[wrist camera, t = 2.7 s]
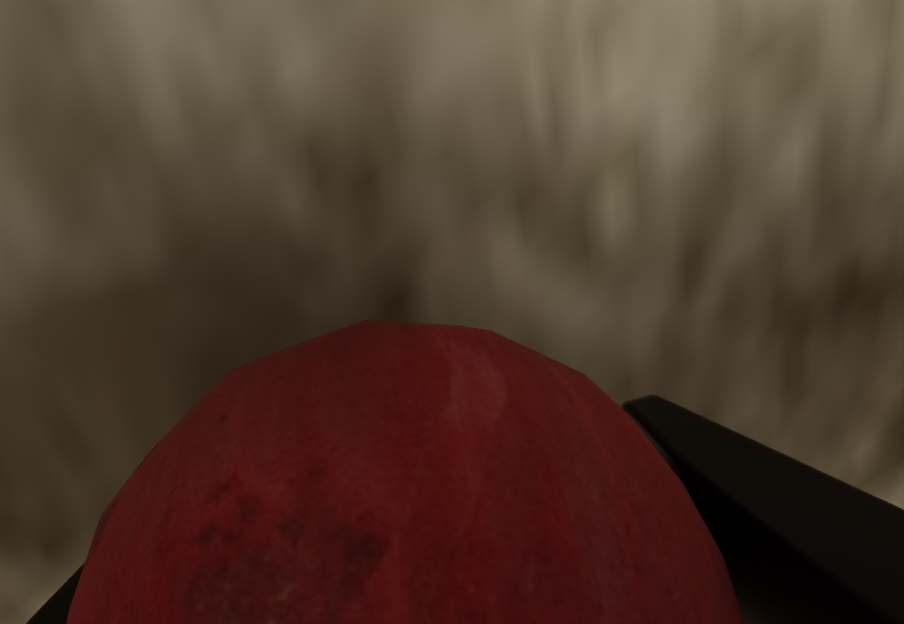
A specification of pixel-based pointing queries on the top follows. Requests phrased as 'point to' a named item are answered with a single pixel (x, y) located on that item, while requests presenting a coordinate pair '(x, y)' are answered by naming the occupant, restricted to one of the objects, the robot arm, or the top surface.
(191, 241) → the top surface
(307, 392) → the onion
